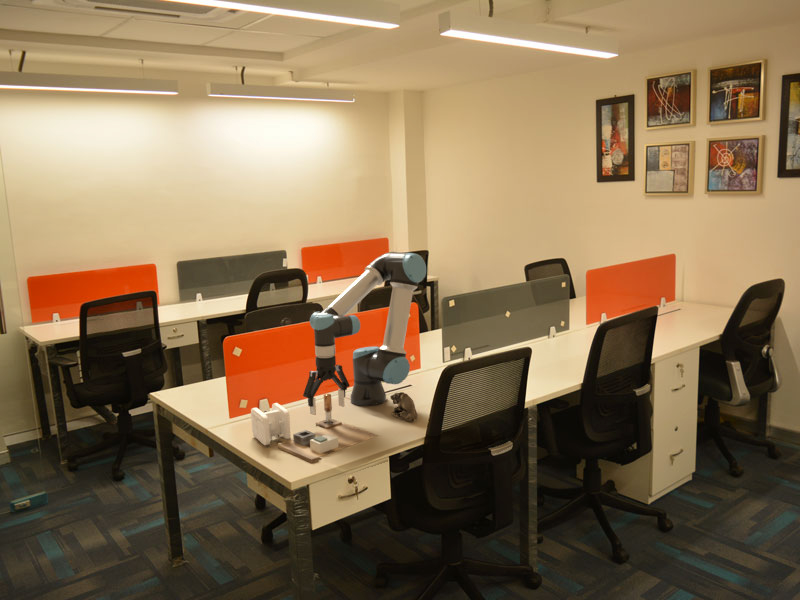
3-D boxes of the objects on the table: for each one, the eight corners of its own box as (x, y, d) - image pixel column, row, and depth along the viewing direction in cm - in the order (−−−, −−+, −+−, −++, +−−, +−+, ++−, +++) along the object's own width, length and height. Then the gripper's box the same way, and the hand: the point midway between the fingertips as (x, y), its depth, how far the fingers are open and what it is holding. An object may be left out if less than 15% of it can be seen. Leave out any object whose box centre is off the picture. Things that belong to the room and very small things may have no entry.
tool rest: (330, 423, 268) (330, 418, 268) (341, 427, 263) (341, 422, 263) (316, 427, 264) (315, 422, 263) (327, 432, 259) (327, 427, 258)
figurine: (402, 411, 279) (402, 388, 278) (421, 421, 267) (420, 397, 265) (389, 414, 276) (388, 390, 275) (407, 424, 264) (406, 399, 262)
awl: (329, 425, 265) (328, 393, 263) (334, 427, 263) (332, 394, 261) (323, 427, 264) (322, 395, 261) (328, 429, 262) (326, 396, 259)
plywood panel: (344, 426, 265) (343, 415, 264) (378, 438, 250) (378, 427, 250) (278, 447, 244) (277, 436, 244) (311, 462, 230) (310, 451, 229)
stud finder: (328, 443, 244) (328, 432, 243) (338, 447, 240) (337, 435, 239) (310, 449, 239) (309, 438, 238) (319, 453, 235) (319, 442, 234)
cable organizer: (292, 442, 249) (290, 411, 247) (264, 449, 244) (262, 417, 242) (277, 430, 262) (276, 401, 260) (250, 436, 257) (248, 406, 255)
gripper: (345, 348, 270) (346, 400, 273) (292, 360, 253) (294, 415, 256) (357, 351, 265) (359, 404, 268) (304, 363, 248) (306, 420, 251)
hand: (327, 410), depth 262 cm, fingers open, 13 cm apart
